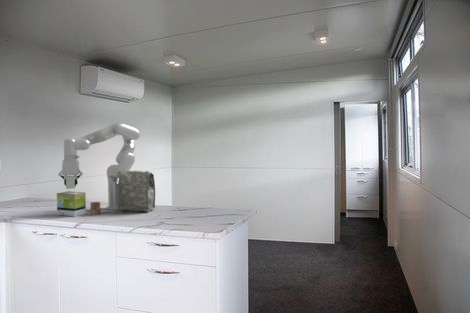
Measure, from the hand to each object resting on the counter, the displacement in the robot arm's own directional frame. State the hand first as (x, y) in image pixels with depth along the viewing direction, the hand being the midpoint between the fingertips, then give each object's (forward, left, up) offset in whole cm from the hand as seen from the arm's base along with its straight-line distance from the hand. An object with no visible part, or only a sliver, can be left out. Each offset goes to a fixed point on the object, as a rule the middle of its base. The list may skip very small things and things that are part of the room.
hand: (70, 185), depth 223 cm
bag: (-41, +1, -18) cm, 45 cm away
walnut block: (-15, +6, -19) cm, 25 cm away
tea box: (0, 0, -20) cm, 20 cm away
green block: (0, 0, -2) cm, 2 cm away
